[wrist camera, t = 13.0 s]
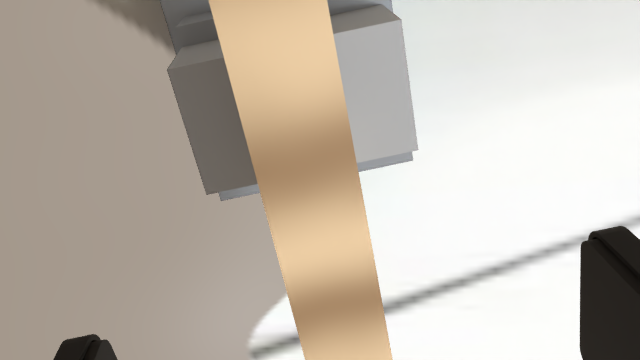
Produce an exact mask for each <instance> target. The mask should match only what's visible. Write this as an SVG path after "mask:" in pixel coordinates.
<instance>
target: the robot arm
mask: <svg viewBox="0 0 640 360" xmlns="http://www.w3.org/2000/svg"><path fill="white" fill-rule="evenodd" d="M580 351H581V355H582V358H583V360H640V239H638V238H637V237H636V236H635V235H634V234H633V233H632V232H630V231H629V230H628V229H627V228H625V227H624V226H618V227H613V228H608V229H603V230H598V231H593V232H592V233H590V235H589V238H588V240H587V241H584V242H582V244H581V276H580ZM54 360H117V357H116V355H115V353H114V351H113V349H112V347H111V345H110V343H109V341H107V340H100V338H99V337H98V336H97V335H94V334H92V335H87V336H82V337H77V338H73V339H67V340H65V341H63V342H62V344H61V345H60V348H59V350H58V351H57V354H56V356H55V358H54Z"/></svg>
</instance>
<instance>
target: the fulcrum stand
mask: <svg viewBox="0 0 640 360" xmlns="http://www.w3.org/2000/svg"><path fill="white" fill-rule="evenodd" d="M160 3H161V6H162V9H163V13H164V16H165V19H166V22H167V26H168V29H169V32H170V35H171V39H172V42H173V45H174V49H175V52H176V57H175V58H174V60H173V61H172V63H171V64H170V66H169V67H168V69H167V71H168V74H169V77H170V81H171V84H172V87H173V90H174V93H175V96H176V100H177V103H178V106H179V109H180V112H181V115H182V119H183V122H184V125H185V128H186V131H187V134H188V138H189V140H190V144H191V147H192V150H193V153H194V157H195V160H196V163H197V166H198V169H199V172H200V175H201V179H202V182H203V185H204V188H205V191H206V194H207V195H208V194H213V193H217V192H218V193H219V196H220V199H221V201H223V200H228V199H233V198H237V197H242V196H247V195H251V194H256V193H260V190H259V186H258V182H257V179H256V175H255V171H254V167H253V164H252V160H251V156H250V153H249V149H248V145H247V141H246V138H245V134H244V130H243V127H242V123H241V119H240V115H239V112H238V108H237V104H236V101H235V97H234V93H233V89H232V86H231V82H230V78H229V75H228V71H227V67H226V63H225V60H224V56H223V52H222V49H221V45H220V41H219V37H218V34H217V30H216V26H215V23H214V19H213V15H212V11H211V8H210V4H209V0H160ZM327 3H328V8H329V13H330V19H331V24H332V30H333V35H334V41H335V46H336V52H337V57H338V63H339V68H340V74H341V79H342V85H343V90H344V96H345V101H346V107H347V112H348V118H349V123H350V129H351V134H352V140H353V145H354V151H355V156H356V162H357V167H358V172H361V171H365V170H370V169H375V168H379V167H384V166H389V165H394V164H398V163H403V162H408V161H413V157H412V151H416V150H418V145H417V137H416V129H415V122H414V114H413V106H412V99H411V91H410V83H409V75H408V68H407V60H406V52H405V45H404V37H403V29H402V21H401V19H400V18H399V17H397V16H396V15H395V14H394V13H393V8H392V1H391V0H327Z"/></svg>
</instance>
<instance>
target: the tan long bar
mask: <svg viewBox="0 0 640 360" xmlns="http://www.w3.org/2000/svg"><path fill="white" fill-rule="evenodd" d="M209 4H210V8H211V11H212V15H213V19H214V23H215V26H216V30H217V34H218V37H219V41H220V45H221V49H222V52H223V56H224V60H225V63H226V67H227V71H228V75H229V78H230V82H231V86H232V89H233V93H234V97H235V101H236V104H237V108H238V112H239V115H240V119H241V123H242V127H243V130H244V134H245V138H246V141H247V145H248V149H249V153H250V156H251V160H252V164H253V167H254V171H255V175H256V179H257V182H258V186H259V190H260V193H261V197H262V200H263V205H264V208H265V212H266V216H267V219H268V223H269V227H270V230H271V234H272V238H273V242H274V245H275V249H276V253H277V256H278V260H279V264H280V268H281V271H282V275H283V279H284V283H285V286H286V290H287V294H288V298H289V301H290V305H291V309H292V312H293V316H294V320H295V324H296V327H297V331H298V335H299V338H300V342H301V346H302V350H303V353H304V357H305V360H392V354H391V349H390V343H389V338H388V332H387V327H386V321H385V316H384V310H383V305H382V299H381V294H380V288H379V283H378V277H377V272H376V266H375V261H374V255H373V250H372V244H371V239H370V233H369V228H368V222H367V217H366V211H365V206H364V200H363V195H362V189H361V184H360V178H359V173H358V167H357V162H356V156H355V151H354V145H353V140H352V134H351V129H350V123H349V118H348V112H347V107H346V101H345V96H344V90H343V85H342V79H341V74H340V68H339V63H338V57H337V52H336V46H335V41H334V35H333V30H332V24H331V19H330V13H329V8H328V3H327V0H209Z"/></svg>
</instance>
